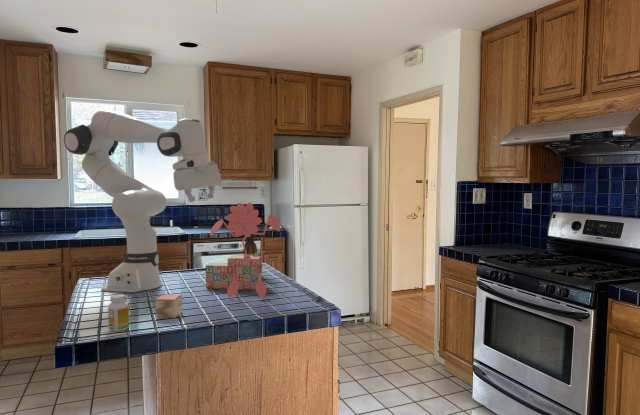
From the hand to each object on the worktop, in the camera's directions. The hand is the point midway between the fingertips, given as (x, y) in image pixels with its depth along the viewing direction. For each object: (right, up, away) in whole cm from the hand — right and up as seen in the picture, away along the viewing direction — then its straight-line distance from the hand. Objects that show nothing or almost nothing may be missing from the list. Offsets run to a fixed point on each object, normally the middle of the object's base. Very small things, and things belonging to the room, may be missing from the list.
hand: (201, 199), depth 166 cm
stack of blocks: (+9, -35, +14) cm, 39 cm away
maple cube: (-4, -37, -23) cm, 44 cm away
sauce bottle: (+13, -33, +34) cm, 49 cm away
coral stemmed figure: (+17, -36, -6) cm, 40 cm away
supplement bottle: (-15, -38, -35) cm, 54 cm away
